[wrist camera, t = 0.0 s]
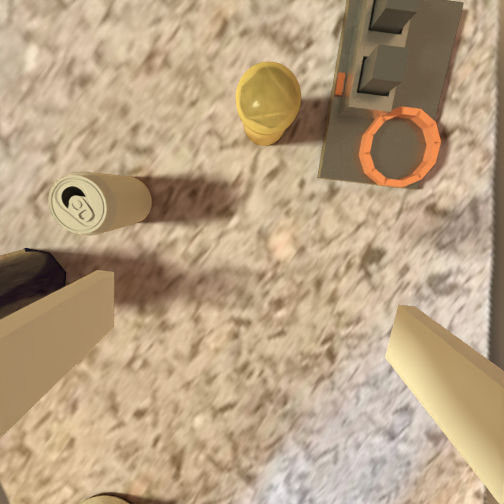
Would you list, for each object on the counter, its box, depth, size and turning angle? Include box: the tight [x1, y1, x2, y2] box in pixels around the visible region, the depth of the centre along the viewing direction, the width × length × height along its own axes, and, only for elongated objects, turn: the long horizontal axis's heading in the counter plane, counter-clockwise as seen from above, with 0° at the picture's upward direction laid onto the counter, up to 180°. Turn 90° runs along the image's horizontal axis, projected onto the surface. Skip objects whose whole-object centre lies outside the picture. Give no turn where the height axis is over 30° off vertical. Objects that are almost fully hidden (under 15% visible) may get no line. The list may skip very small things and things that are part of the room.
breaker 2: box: [357, 44, 409, 96], centre depth 29 cm, size 3×3×4 cm
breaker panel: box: [317, 0, 463, 189], centre depth 33 cm, size 21×13×5 cm, turn 173°
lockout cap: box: [236, 62, 301, 146], centre depth 31 cm, size 6×6×10 cm
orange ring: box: [359, 106, 441, 187], centre depth 34 cm, size 9×9×2 cm
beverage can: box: [48, 172, 152, 235], centre depth 32 cm, size 6×6×12 cm
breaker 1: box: [368, 0, 419, 34], centre depth 28 cm, size 3×3×4 cm
